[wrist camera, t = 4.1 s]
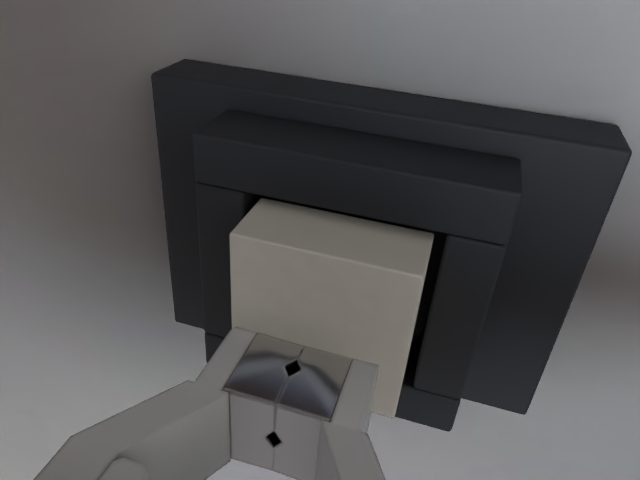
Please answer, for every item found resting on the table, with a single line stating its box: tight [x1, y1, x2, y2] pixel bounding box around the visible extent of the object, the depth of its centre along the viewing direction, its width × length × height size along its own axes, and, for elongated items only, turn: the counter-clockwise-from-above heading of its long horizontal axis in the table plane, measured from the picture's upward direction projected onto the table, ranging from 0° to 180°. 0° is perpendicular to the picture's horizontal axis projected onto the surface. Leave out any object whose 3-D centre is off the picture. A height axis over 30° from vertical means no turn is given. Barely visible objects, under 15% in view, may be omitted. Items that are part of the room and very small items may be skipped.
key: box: [230, 198, 434, 418], centre depth 12 cm, size 4×4×2 cm
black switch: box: [151, 59, 632, 431], centre depth 14 cm, size 11×8×4 cm
